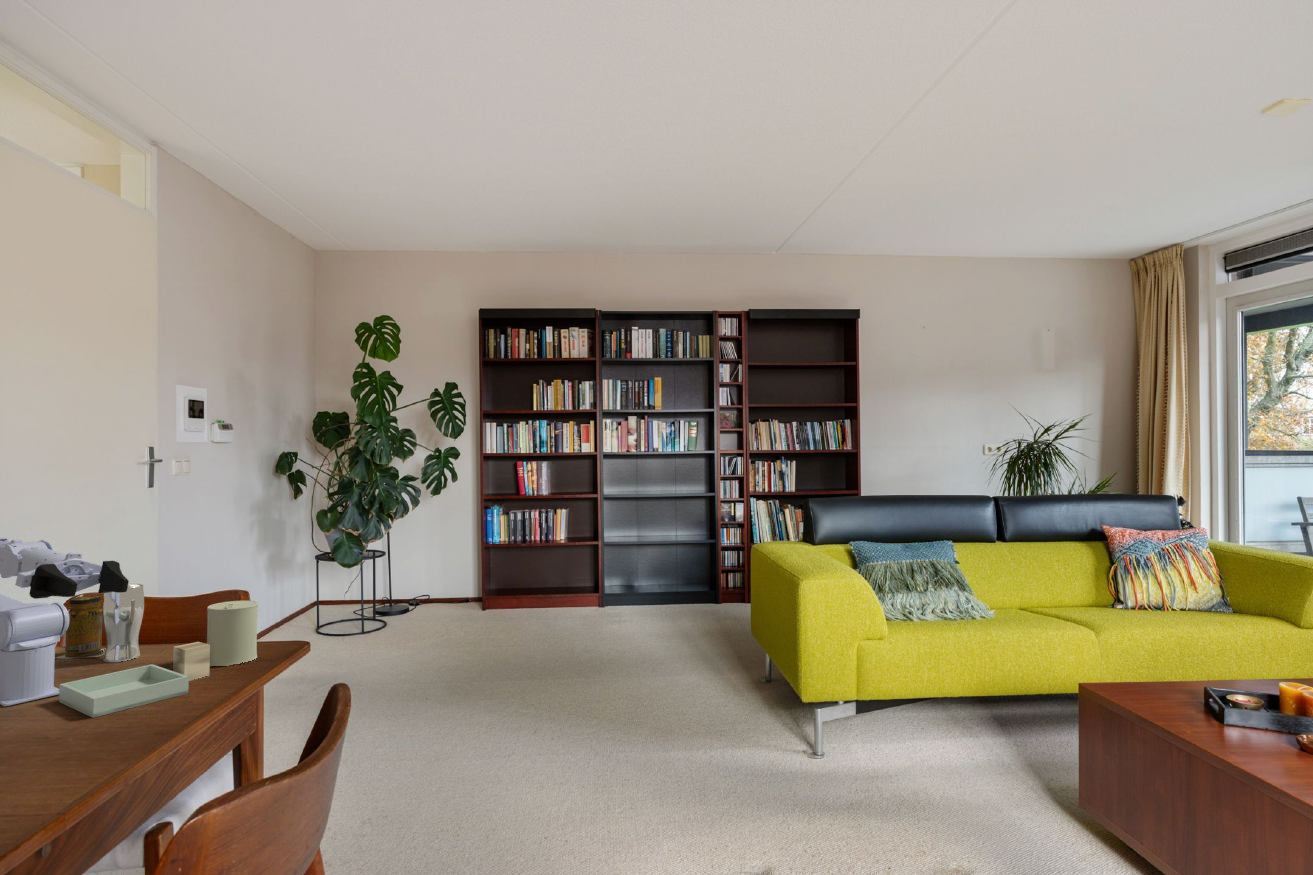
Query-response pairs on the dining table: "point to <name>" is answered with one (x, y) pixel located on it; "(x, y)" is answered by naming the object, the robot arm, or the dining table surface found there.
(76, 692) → the bin
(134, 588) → the beer glass
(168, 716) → the dining table surface
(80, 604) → the condiment
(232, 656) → the can
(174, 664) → the birch block
